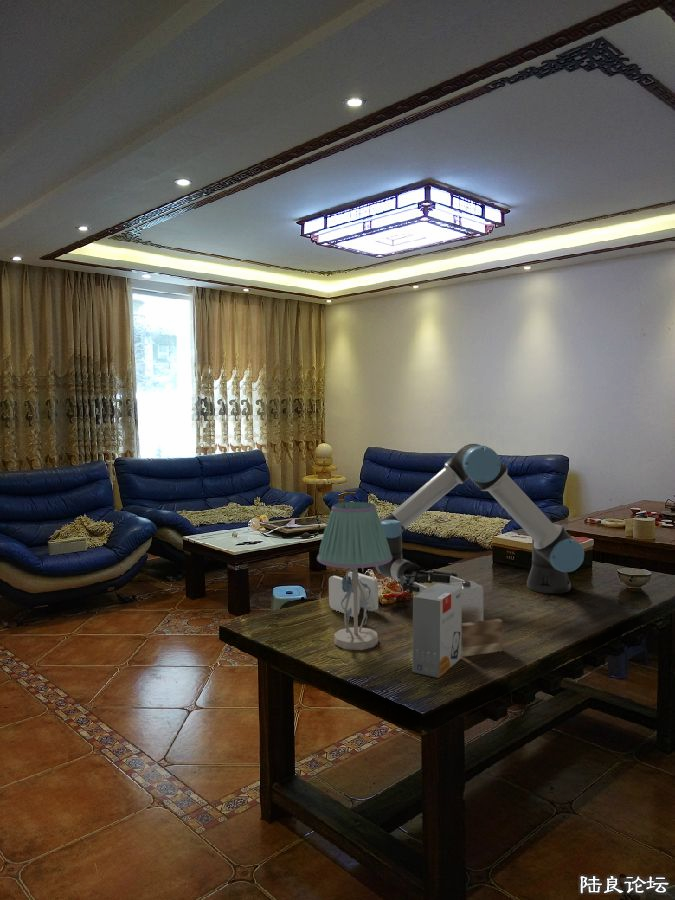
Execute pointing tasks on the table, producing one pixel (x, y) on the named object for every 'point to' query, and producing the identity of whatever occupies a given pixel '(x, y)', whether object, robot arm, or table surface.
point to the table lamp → (354, 561)
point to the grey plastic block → (338, 595)
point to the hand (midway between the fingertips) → (445, 588)
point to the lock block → (471, 601)
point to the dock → (481, 637)
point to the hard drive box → (436, 629)
